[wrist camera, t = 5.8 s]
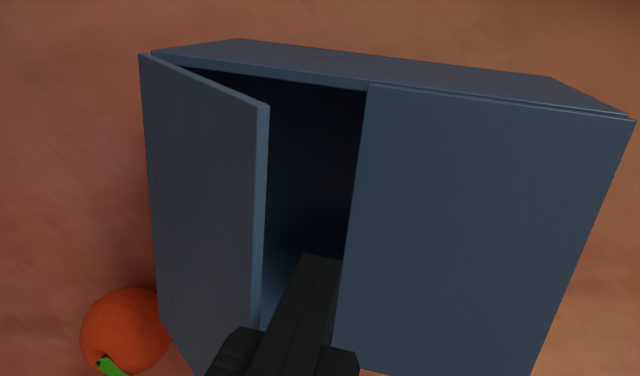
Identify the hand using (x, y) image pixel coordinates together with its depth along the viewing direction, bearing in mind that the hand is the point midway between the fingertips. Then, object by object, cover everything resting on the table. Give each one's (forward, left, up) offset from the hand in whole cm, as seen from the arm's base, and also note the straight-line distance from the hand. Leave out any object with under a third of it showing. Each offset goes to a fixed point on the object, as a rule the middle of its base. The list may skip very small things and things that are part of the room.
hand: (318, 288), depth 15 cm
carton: (0, 0, -14) cm, 14 cm away
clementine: (-16, -17, -14) cm, 27 cm away
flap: (-5, 0, -1) cm, 5 cm away
